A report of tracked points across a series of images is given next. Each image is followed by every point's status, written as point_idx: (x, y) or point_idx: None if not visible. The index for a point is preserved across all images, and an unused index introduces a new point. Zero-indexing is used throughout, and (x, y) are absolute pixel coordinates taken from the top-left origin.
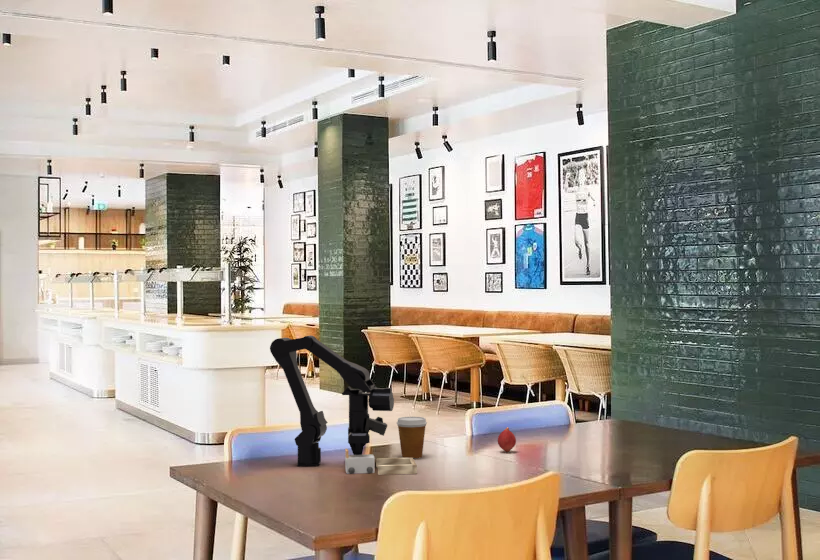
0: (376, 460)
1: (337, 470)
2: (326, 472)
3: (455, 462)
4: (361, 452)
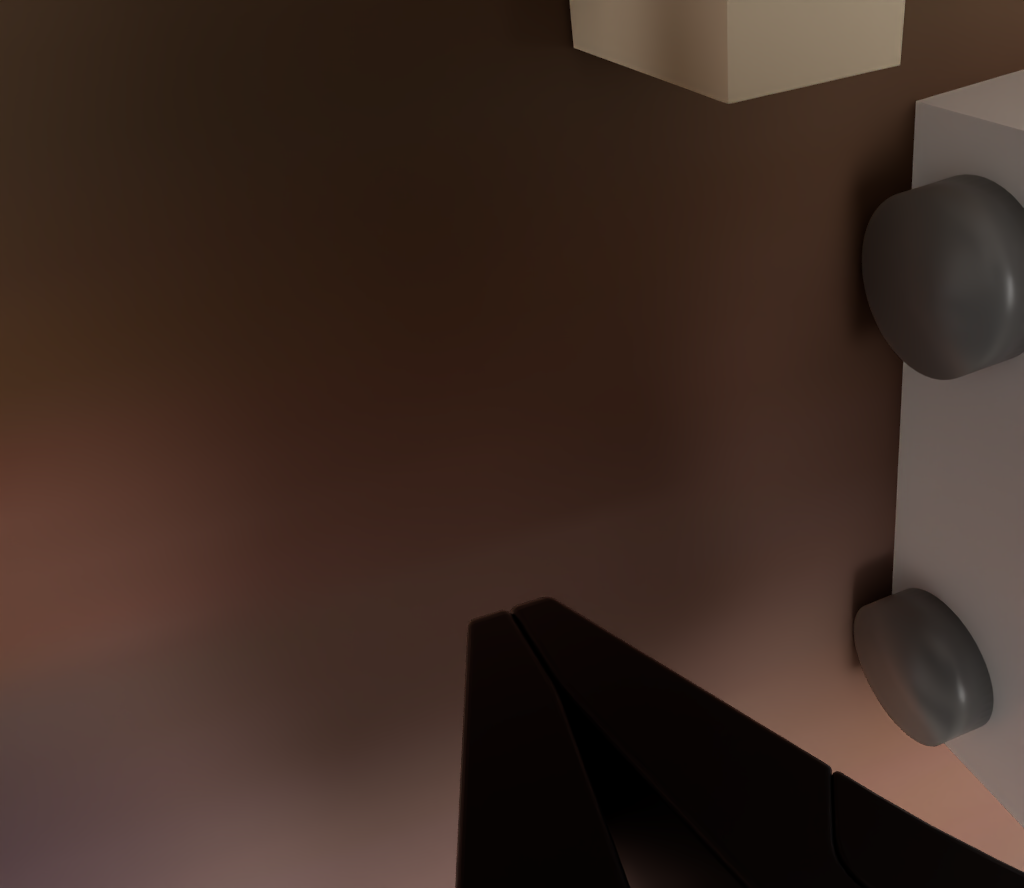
0: (857, 38)
1: (894, 781)
2: (1009, 847)
3: None
4: (843, 799)
